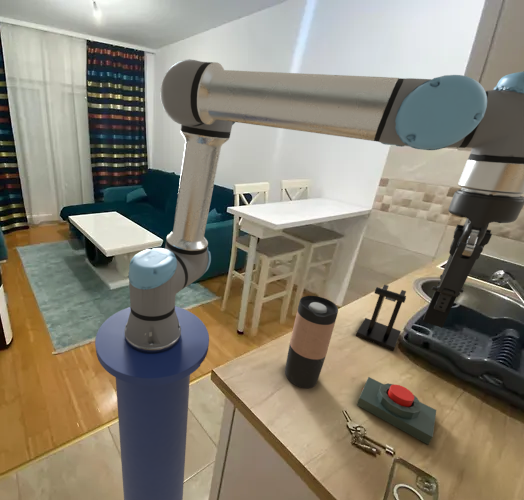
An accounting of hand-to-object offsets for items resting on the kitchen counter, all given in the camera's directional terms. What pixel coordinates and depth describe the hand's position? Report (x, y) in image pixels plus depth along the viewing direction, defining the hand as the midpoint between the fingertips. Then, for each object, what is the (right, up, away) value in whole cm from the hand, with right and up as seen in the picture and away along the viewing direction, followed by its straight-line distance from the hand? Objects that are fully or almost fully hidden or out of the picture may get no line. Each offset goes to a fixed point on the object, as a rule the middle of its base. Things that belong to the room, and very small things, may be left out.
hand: (432, 322), depth 52 cm
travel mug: (-17, -17, +17) cm, 29 cm away
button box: (-1, -21, +8) cm, 22 cm away
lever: (+9, 0, +23) cm, 25 cm away
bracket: (+13, -12, +32) cm, 36 cm away
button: (0, -17, +7) cm, 19 cm away
